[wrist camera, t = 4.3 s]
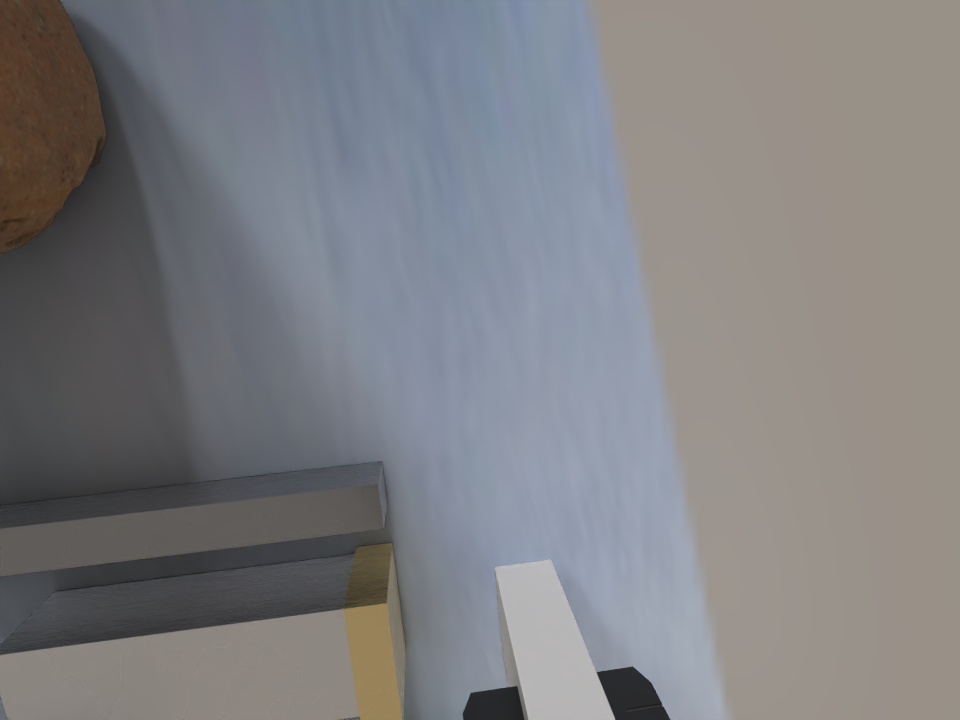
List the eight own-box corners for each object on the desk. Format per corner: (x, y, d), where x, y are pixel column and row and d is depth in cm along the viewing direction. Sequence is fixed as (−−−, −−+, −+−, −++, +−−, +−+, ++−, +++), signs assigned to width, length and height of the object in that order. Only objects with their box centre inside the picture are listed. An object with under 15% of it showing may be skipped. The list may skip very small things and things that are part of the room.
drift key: (52, 585, 16) (-24, 657, 13) (392, 542, 17) (386, 603, 14) (81, 694, 17) (15, 784, 14) (405, 649, 17) (403, 726, 15)
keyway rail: (-223, 531, 15) (-293, 563, 13) (382, 461, 16) (378, 484, 15) (-207, 574, 15) (-273, 610, 14) (386, 502, 16) (383, 528, 15)
